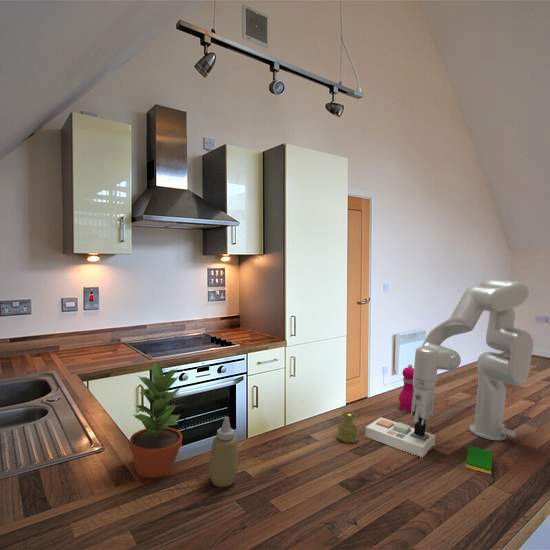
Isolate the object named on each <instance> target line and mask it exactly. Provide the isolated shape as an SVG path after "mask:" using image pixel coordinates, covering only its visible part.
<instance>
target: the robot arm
mask: <svg viewBox="0 0 550 550" xmlns="http://www.w3.org/2000/svg"><path fill="white" fill-rule="evenodd" d="M529 295H530V294H529V289H528V286H527V284H525V283H523V282H520V281H515V280H504V279H494V278H490V279H484V280H482V281H481V282H480V284H479V286H478V285H475V286H470V287H468V288H466V290H465V291H464V292H463V294H462V296H461V297H460V300H459V301H458V303H457V304H456V306H455V309H454V310H453V312H452V313H451V315H450V317H449V318H448V319H447V320H446V319H445V321H443V322H441V323H440V324H437V326H435V327H434V328H432V329H431V331H429V333H428V334H427V336H426V337H425V339H424V341H423V342H422V344H421V346H419V347H417V348H416V349H415V352H414V353H415V355H414V365H413V369H414V374H413V389H414V393H413V399H412V408H411V412H410V413H411V416H413V421H414V428H415V429H414V433H415V434H417V435H420V436H424V435H425V432H426V428H427V427H426V426H427V424H426V423H427V419H428V418H429V417H430V416H432V415H433V414H434V410H435V408H434V407H435V391H436V387H437V375H438V370H442V371H454V370H456V369H457V368H458V367H459V366H460V365H461V362H462V359H461V356H460V354H459V352H457V351H456V350H454V349H452V348H450V347H445V346H443V345H442V344H443V343H444V342H445V341H446V340H447V339H449V338H451V337H454V336H457V335H461V334H466V333H469V332H472V331H473V330H474V329H475V328H476V327H475V326H476V325H477V323H478V321H479V320H480V318H481V316H482V314H483V312H484V311H485V312H489V316H488V321H487V323H488V324H487V330H486V335H485V343H486V345H487V346H488V347H489V348H491V349H494V350H497V351H501V352H503V353H507V354H510V356H507V355H504V354H502V353H501V354H500V353H498V352H492V351H486V352H483V353H481V354H480V355H479V356H478V358H477V361H476V369H477V376H478V377H477V378H478V379H477V392H476V400H475V402H476V405H475V415H474V423H472V424H469V431H470V432H471V433H472V434H474V435H475V436H477V437H480V438H482V439H486V440H489V441H490V440H491V441H497V442H498V441H499V442H500V441H505V440H506V439H507V436H508V437H510V438H513V439H515V437H516V432H514V431H513V430H512V429H508V428H506V427H505V423H504V414H505V413H504V412H505V404H506V396H507V395H506V393H507V391H506V386H505V383H506V384H509V385H512V386H521V385H524V384H525V383H526V381H527V379H528V377H529V375H530V368H531V363H532V357H533V351H534V339H533V336H532V335H531V333H529V332H528V331H526V330H524V329H519V328H515V320H516V319H515V318H516V313H515V309H514V308H516V307H518V306H521V305H523V304H524V303H525V302H526V300H528V298H529Z"/></svg>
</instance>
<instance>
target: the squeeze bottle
mask: <svg viewBox="0 0 550 550" xmlns="http://www.w3.org/2000/svg"><path fill="white" fill-rule="evenodd" d="M237 439H238V438H236V437H235V430H234V429H233V428H232V427H231V423H230V417H229V416H224V418H223V422H222V425H221V427H219V428H218V429H217V431H216V436H214V438H213V439H212V445H211V450H210V451H211V452H210V458H209V463H208V473H209V477H210V480H211V483H212V484H213V486H215V487H218V488H227V487H229V486H231V485H233V483H234V480H235V478H236V475H237V473H238V470H239V463H238V461H239V460H238V459H239V457H238V440H237Z"/></svg>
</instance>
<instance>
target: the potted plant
mask: <svg viewBox="0 0 550 550" xmlns="http://www.w3.org/2000/svg"><path fill="white" fill-rule="evenodd" d="M150 367H151V368H150V369H151V375H152V379H150V378H148V377H146V376H140V375H138V378H139V381H141V382H142V383H143V384H144V385H145V386H146V387H147V388H144V387H141V389H142V390H141V391H140V392H139V391H138V393H139V394H142V395H143V396H145V398H146V400H147V401H148V402H149V404H150V405H151V408H149V407H147V406H146V405H143V404H139V405H136V404H134V406H135V407H137V408H138V409H139V410H141V411H143V412H144V413H146V414H147V415H146V414H142V413H139V414H134V413H133V414H132V413H131V414H132V416H134V418H135V419H137V420H139V421H141V423H142V425H143V426H144V428H143V429H140V430H138V431H136V432H134V433H133V434H132V435H131V436H130V438H129V445H128V446H129V449H130V452H131V453H132V458H133V461H134V462H133V464H134V467H135V470H136V473H137V474H138V475H139V476H140V477H142V478H143V477H144V478H148V479H154V478H160V477H164V476H166V475H168V474H170V473H171V472H172V470H173V469H174V467H175V466H174V465H175V462H176V459H177V456H178V454H179V450H180V449H181V447H183V434H182V432H181V431H179V430H177V429H176V428H174V427H173V428H172V427H169V426H174V425H178V421H177V420H179V418H180V416H181V415H182V414H181V413H180V414H177V415H176V414H172V412H173V411H174V410H175V408H176V407H177V405H176V404H175V403H173V404H172V405H168V404H169V402H170V400H172V398H173V397H174V396H175V395H176V394H177V393H178V392H179V391H180V389H181V387H179V388H176V389H175V390H173V391H169V389H170V387H172V385H174V384H175V383H176V381H178V378H179V377H180V375H178V376H176V377H173V376H174V375H175V374H176V373H177V371H178V369H179V367H177V368H176V369H170V370H169V371H167V373H164V371H163V369H162V366H161V365H160V364H157V363H156V361H155V360H154V362H153V365H151V366H150ZM164 374H165V375H164ZM148 415H149V416H148ZM150 416H151V417H150Z"/></svg>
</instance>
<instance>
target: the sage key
mask: <svg viewBox="0 0 550 550" xmlns="http://www.w3.org/2000/svg"><path fill="white" fill-rule="evenodd" d="M393 430H394V431H397V432H400V433H403V434H405V435H407V434H408V433H409V432H410V430H411V425H409V424H405V423H402V422H397V424H395V425H394V426H393Z"/></svg>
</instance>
